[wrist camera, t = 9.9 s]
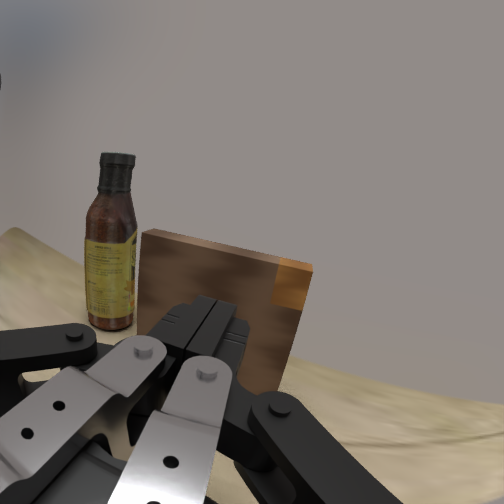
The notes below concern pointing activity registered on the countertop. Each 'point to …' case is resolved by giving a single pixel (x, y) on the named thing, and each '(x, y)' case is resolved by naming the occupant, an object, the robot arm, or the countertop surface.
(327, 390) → the countertop surface
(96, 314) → the sauce bottle
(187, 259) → the brown wooden block
